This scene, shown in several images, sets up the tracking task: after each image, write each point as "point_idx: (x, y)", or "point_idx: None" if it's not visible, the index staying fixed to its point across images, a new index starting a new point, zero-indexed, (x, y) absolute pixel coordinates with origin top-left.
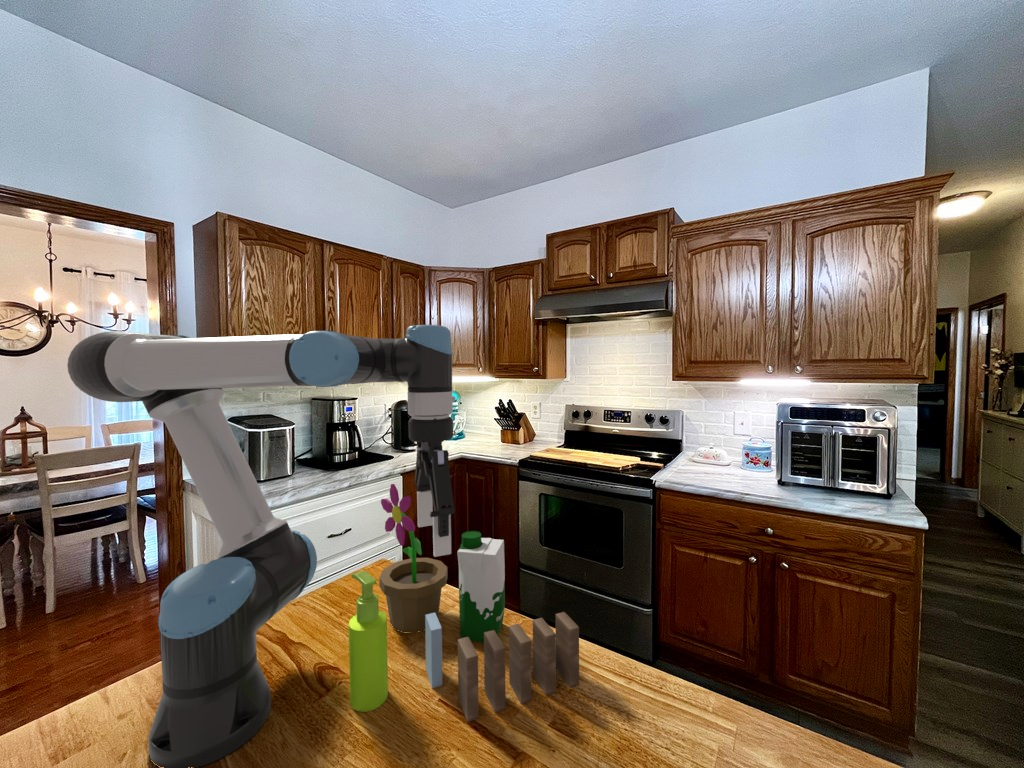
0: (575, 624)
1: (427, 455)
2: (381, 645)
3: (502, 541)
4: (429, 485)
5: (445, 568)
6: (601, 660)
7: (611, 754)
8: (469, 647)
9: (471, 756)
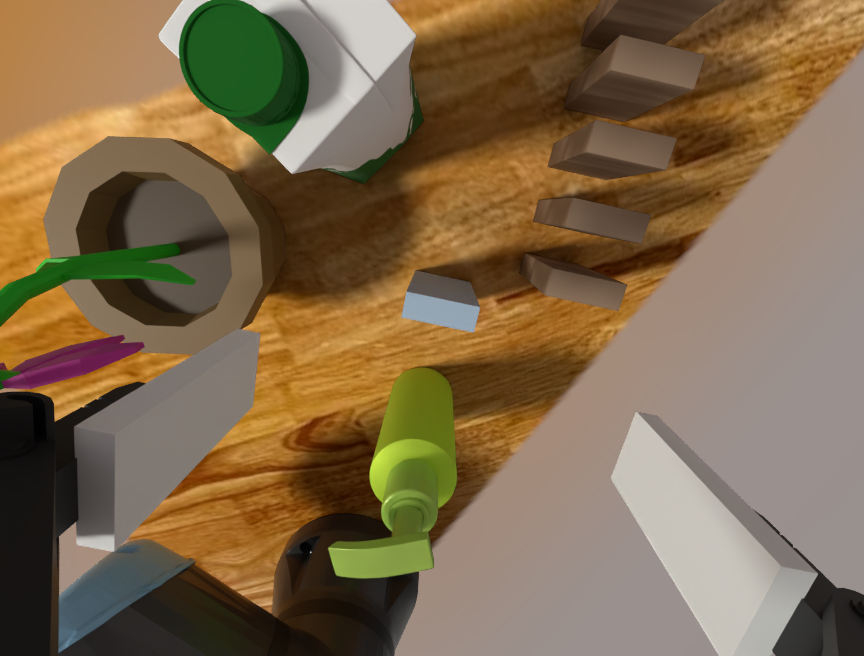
0: None
1: None
2: (451, 434)
3: None
4: (54, 489)
5: (174, 149)
6: None
7: (797, 111)
8: (590, 287)
9: (631, 310)
